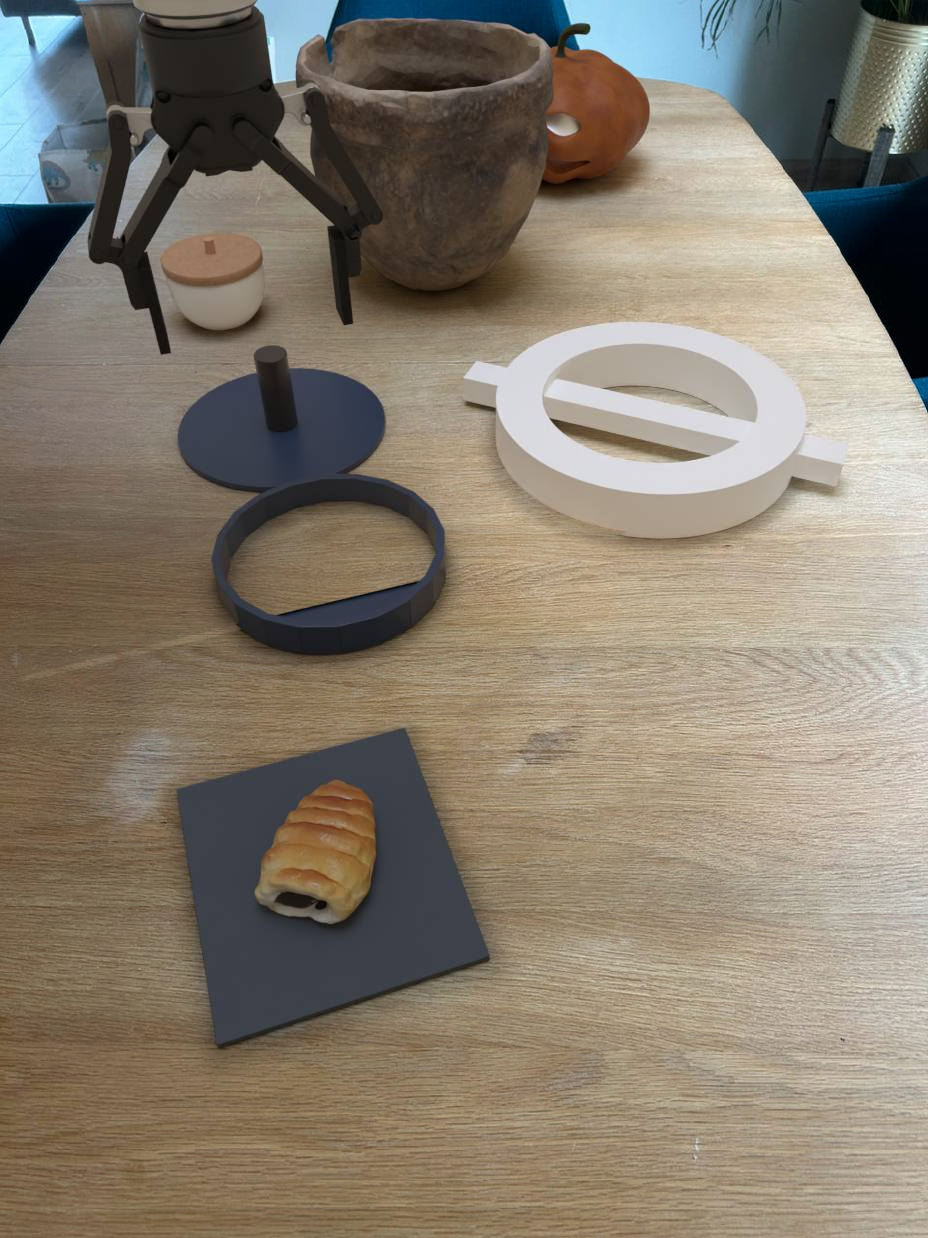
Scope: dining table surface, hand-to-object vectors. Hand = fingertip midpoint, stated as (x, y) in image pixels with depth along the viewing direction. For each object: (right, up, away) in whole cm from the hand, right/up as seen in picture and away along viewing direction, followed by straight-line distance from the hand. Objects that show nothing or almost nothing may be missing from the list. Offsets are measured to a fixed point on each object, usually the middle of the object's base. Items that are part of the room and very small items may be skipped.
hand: (256, 330), depth 75 cm
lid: (-2, -3, +21) cm, 22 cm away
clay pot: (+12, +18, +43) cm, 49 cm away
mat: (+7, -38, -12) cm, 40 cm away
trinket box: (-11, +12, +37) cm, 41 cm away
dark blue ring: (+5, -18, +8) cm, 20 cm away
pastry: (+7, -37, -12) cm, 40 cm away
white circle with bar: (+33, -5, +20) cm, 39 cm away
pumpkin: (+28, +42, +66) cm, 83 cm away
